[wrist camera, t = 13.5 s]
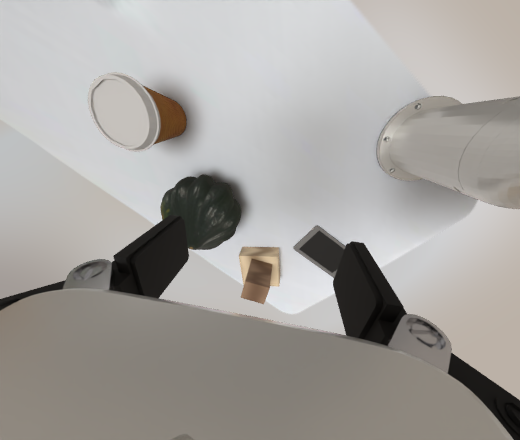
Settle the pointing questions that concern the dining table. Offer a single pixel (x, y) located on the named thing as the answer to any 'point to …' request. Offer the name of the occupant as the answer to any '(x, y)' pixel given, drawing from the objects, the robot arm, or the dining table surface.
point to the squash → (203, 210)
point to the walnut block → (257, 281)
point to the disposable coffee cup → (133, 112)
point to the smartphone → (321, 250)
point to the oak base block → (263, 255)
